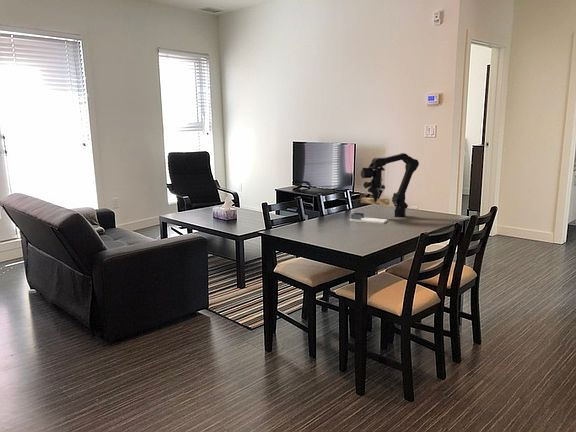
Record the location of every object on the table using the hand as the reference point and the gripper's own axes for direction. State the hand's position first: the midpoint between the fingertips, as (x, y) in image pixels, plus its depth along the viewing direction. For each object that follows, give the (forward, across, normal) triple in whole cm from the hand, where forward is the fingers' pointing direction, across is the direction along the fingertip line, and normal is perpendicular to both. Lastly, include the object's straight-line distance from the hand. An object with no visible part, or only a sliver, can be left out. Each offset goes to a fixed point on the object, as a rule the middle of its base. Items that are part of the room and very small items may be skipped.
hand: (376, 201), depth 302 cm
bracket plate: (+11, +11, -2) cm, 16 cm away
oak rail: (+1, 0, -1) cm, 2 cm away
